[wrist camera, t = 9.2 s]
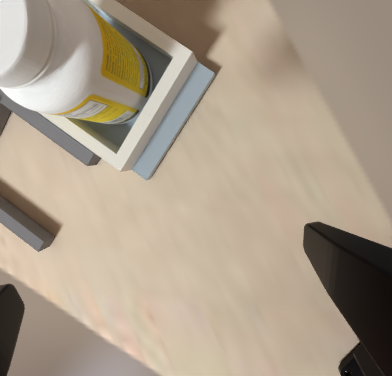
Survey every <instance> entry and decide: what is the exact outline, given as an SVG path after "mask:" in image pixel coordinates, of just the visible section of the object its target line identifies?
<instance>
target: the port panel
mask: <svg viewBox="0 0 392 376" xmlns="http://www.w3.org/2000/svg"><path fill="white" fill-rule="evenodd" d="M83 1H84V2H85V3H86V4H87V5H88V6H90V7H91V8H92V9H93V10H94V11H95V12H96V13H98V14H99V15H100V16H101V17H102V18H103V19H104V20H106V21H107V22H108V23H109V24H110V25H111V26H112V27H113V28H115V29H116V30H117V31H118V32H119V33H120V34H121V35H122V36H123V37H125V38H126V39H127V40H128V41H129V42H130V43H132V44H133V45H134V46H135V47H136V48H137V49H138V50H139V51H140V52H141V53H142V55H143V56H144V57H145V59H146V60H147V62H148V64H149V67H150V70H151V73H152V81H153V83H152V93H151V96H150V98H149V100H148V101H147V103H146V105H145V106H144V108H143V110H142V112H141V113H140V115H139V116H138V117H136V118H135V119H133V120H132V121H129V122H127V123H124V124H116V125H113V124H104V123H98V122H92V121H86V120H81V119H75V118H69V117H63V116H57V115H52V114H45V113H41V112H38V113H40V114H41V115H42V116H44V117H45V118H47V119H48V120H49V121H51V122H52V123H54V124H55V125H56V126H58V127H59V128H60V129H62V130H63V131H65V132H66V133H67V134H69V135H70V136H72V137H73V138H74V139H76V140H77V141H78V142H80V143H81V144H83V145H84V146H85V147H87V148H88V149H89V150H91V151H92V152H94V153H95V154H96V155H98V156H99V157H101V158H102V159H103V160H105V161H106V162H107V163H109V164H110V165H112V166H113V167H114V168H116V169H117V170H119V171H120V172H121V171H127V170H133V171H134V172H136V173H137V174H138V175H140V176H141V177H143V178H144V179H145V180H149V179H150V178H151V176H152V175H153V173H154V172H155V170H156V169H157V167H158V165H159V164H160V162H161V161H162V159H163V158H164V156H165V154H166V153H167V151H168V150H169V148H170V147H171V145H172V143H173V142H174V140H175V139H176V137H177V136H178V134H179V132H180V131H181V129H182V128H183V126H184V125H185V123H186V121H187V120H188V118H189V117H190V115H191V114H192V112H193V110H194V109H195V107H196V106H197V104H198V102H199V101H200V99H201V98H202V96H203V95H204V93H205V91H206V90H207V88H208V87H209V85H210V84H211V82H212V80H213V79H214V77H215V76H216V75H215V73H214V72H212V71H211V70H209V69H208V68H206V67H205V66H203V65H202V64H200V63H199V62H198V61H197V59H196V57H195V55H194V54H193V52H192V51H191V50H189V49H188V48H186V47H185V46H183V45H182V44H180V43H179V42H177V41H176V40H174V39H173V38H171V37H170V36H168V35H167V34H165V33H164V32H162V31H161V30H159V29H158V28H156V27H155V26H153V25H152V24H150V23H149V22H147V21H146V20H144V19H143V18H141V17H140V16H138V15H137V14H135V13H134V12H132V11H131V10H129V9H128V8H126V7H125V6H123V5H122V4H120V3H119V2H117V1H116V0H83Z"/></svg>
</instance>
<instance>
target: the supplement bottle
mask: <svg viewBox="0 0 392 376" xmlns="http://www.w3.org/2000/svg"><path fill="white" fill-rule="evenodd" d="M152 83H153V81H152V73H151V70H150V67H149V64H148V62H147V60H146V59H145V57H144V56H143V55H142V53H141V52H140V51H139V50H138V49H137V48H136V47H135V46H134V45H133V44H132V43H130V42H129V41H128V40H127V39H126V38H125V37H123V36H122V35H121V34H120V33H119V32H118V31H117V30H116V29H115V28H113V27H112V26H111V25H110V24H109V23H108V22H107V21H106V20H104V19H103V18H102V17H101V16H100V15H99V14H98V13H96V12H95V11H94V10H93V9H92V8H91V7H90V6H88V5H87V4H86V3H85V2H84V1H83V0H0V89H1V90H2V91H3V92H4V93H5V94H6V95H7V96H8V97H9V98H10V99H12V100H13V101H14V102H16V103H18V104H19V105H21V106H23V107H25V108H27V109H30V110H33V111H37V112H41V113H45V114H52V115H57V116H63V117H69V118H75V119H81V120H86V121H92V122H98V123H104V124H113V125H116V124H124V123H127V122H129V121H132V120H133V119H135V118H136V117H138V116H139V115H140V113H141V112H142V110H143V108H144V106H145V105H146V103H147V101H148V100H149V98H150V96H151V93H152Z"/></svg>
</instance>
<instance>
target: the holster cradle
mask: <svg viewBox="0 0 392 376" xmlns="http://www.w3.org/2000/svg"><path fill="white" fill-rule="evenodd" d="M11 111H12V112H14V113H15V114H17V115H18V116H19V117H21V118H22V119H23V120H25V121H26V122H28V123H29V124H30V125H32V126H33V127H34V128H36V129H37V130H38V131H40V132H41V133H43V134H44V135H45V136H47V137H48V138H49V139H51V140H52V141H54V142H55V143H56V144H58V145H59V146H60V147H62V148H63V149H65V150H66V151H67V152H69V153H70V154H71V155H73V156H74V157H76V158H77V159H78V160H80V161H81V162H82V163H84V164H85V165H87V166H90V165H96V164H97V163H98V161H99V159H100V157H99V156H98V155H96V154H95V153H94V152H92V151H91V150H89V149H88V148H87V147H85V146H84V145H83V144H81V143H80V142H78V141H77V140H76V139H74V138H73V137H72V136H70V135H69V134H67V133H66V132H65V131H63V130H62V129H60V128H59V127H58V126H56V125H55V124H54V123H52V122H51V121H49V120H48V119H47V118H45V117H44V116H42V115H41V114H40V113H38V112H37V111H33V110H30V109H27V108H25V107H23V106H21V105H19V104H18V103H16V102H14V101H13V100H12V99H10V98H9V97H8V96H7V95H6V94H5V93H4V92H3V91H2V90H1V89H0V134H1V132H2V130H3V128H4V126H5V124H6V121H7V119H8V117H9V115H10V113H11ZM0 223H2V224H3V225H4V226H5V227H7V228H8V229H9V230H11V231H12V232H13V233H15V234H16V235H17V236H18V237H20V238H21V239H22V240H24V241H25V242H26V243H27V244H29V245H30V246H31V247H33V248H34V249H35V250H37V251H38V252H39V251H41V250H43V249H45V248H47V247H49V246H50V244H51V243H52V241H53V239H54V236H53V235H52V234H50V233H49V232H48V231H46V230H45V229H44V228H42V227H41V226H40V225H39V224H37V223H36V222H35V221H33V220H32V219H31V218H29V217H28V216H27V215H25V214H24V213H23V212H21V211H20V210H19V209H18V208H16V207H15V206H14V205H12V204H11V203H10V202H8V201H7V200H6V199H4V198H3V197H2V196H0Z"/></svg>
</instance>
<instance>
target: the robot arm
mask: <svg viewBox="0 0 392 376" xmlns="http://www.w3.org/2000/svg"><path fill="white" fill-rule="evenodd" d="M303 247H304V251H305V253H306V255H307V257H308V258H309V260H310V262H311V264H312V266H313V268H314V269H315V271H316V273H317V275H318V277H319V279H320V280H321V282H322V284H323V286H324V288H325V289H326V291H327V293H328V294H329V296H330V297H331V299H332V301H333V302H334V303H335V305H336V306H337V308H338V309H339V311H340V312H341V314H342V315H343V316H344V318H345V319H346V321H347V322H348V324H349V325H350V327H351V328H352V330H353V331H354V332H355V334H356V335H357V337H358V338H359V340H360V341H361V344H360V345H359V346H358V347H357V348H356V349H355V350H354V351H353V352H352V353H351V354H350V355H349V356H348V357H347V358H346V359H345V360H344V361H343V362H342V363H341V364H340V365H339V372H340V374H341V376H392V248H389V247H387V246H384V245H381V244H379V243H376V242H373V241H370V240H368V239H365V238H362V237H359V236H357V235H354V234H351V233H348V232H346V231H343V230H340V229H337V228H335V227H332V226H329V225H326V224H324V223H321V222H312V223H307V224H306V225H305V226H304V239H303ZM24 309H25V308H24V303H23V301H22V299H21V297H20V295H19V294H18V292H17V290H16V288H15V287H14V285H12V284H4V285H0V376H7V373H8V370H9V367H10V364H11V360H12V357H13V353H14V349H15V346H16V342H17V338H18V334H19V330H20V326H21V323H22V318H23V315H24ZM347 370H349V372H345V371H347Z"/></svg>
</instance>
